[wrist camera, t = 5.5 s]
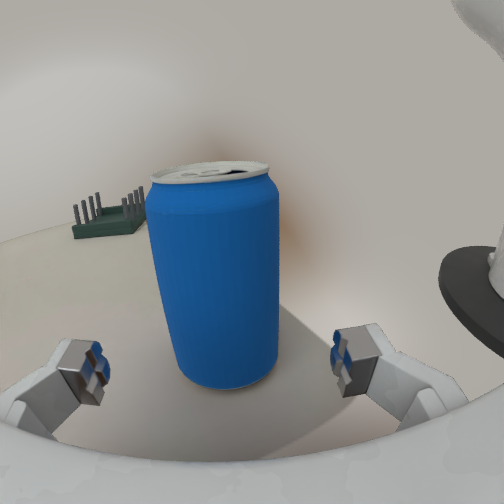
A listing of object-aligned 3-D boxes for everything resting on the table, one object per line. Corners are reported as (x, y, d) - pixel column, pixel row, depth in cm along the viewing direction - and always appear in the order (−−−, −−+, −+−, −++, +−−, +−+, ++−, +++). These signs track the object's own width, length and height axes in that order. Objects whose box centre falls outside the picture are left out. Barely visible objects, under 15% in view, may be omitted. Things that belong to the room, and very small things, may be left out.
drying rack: (150, 213, 52) (147, 184, 50) (133, 233, 42) (127, 198, 40) (99, 218, 52) (94, 192, 49) (74, 239, 42) (67, 207, 39)
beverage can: (294, 380, 16) (303, 170, 11) (187, 408, 14) (137, 188, 10) (258, 322, 22) (252, 157, 17) (173, 339, 20) (143, 169, 15)
